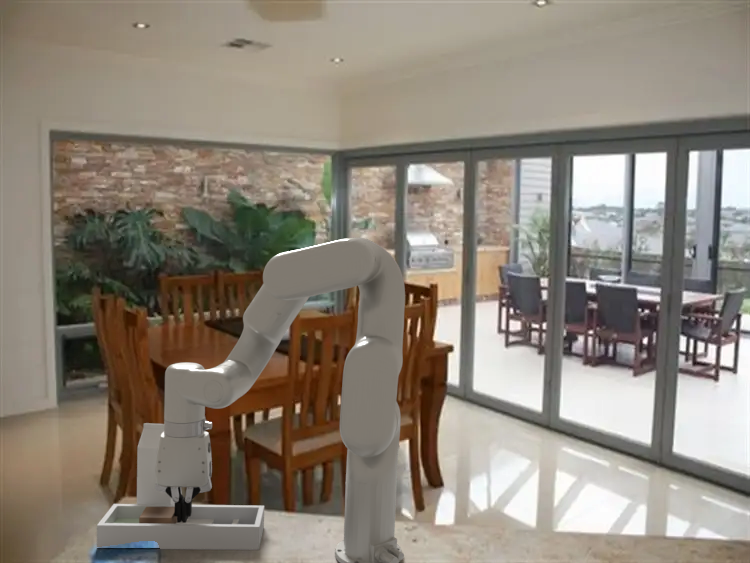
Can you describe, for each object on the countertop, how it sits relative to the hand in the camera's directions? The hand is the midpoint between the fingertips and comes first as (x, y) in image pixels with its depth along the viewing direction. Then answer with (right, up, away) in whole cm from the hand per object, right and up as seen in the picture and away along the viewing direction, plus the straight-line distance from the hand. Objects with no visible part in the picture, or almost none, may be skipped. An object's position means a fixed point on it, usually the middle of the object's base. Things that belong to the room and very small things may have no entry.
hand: (182, 519), depth 134 cm
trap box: (0, -4, 0) cm, 4 cm away
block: (-5, -1, 0) cm, 5 cm away
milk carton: (-8, -3, +12) cm, 15 cm away
